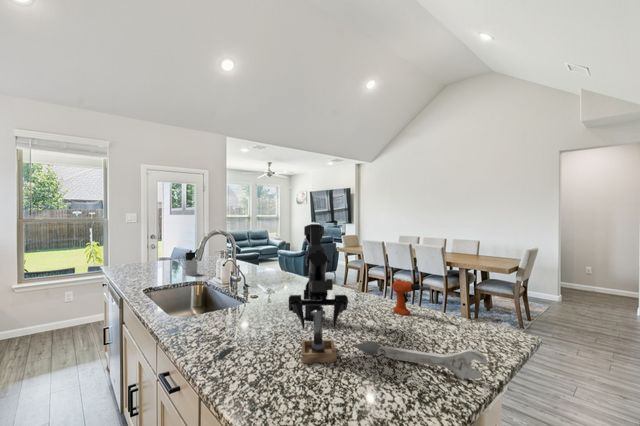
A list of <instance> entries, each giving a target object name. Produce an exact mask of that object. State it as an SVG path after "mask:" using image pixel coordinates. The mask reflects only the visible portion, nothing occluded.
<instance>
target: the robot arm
mask: <svg viewBox="0 0 640 426" xmlns="http://www.w3.org/2000/svg"><path fill="white" fill-rule="evenodd" d="M303 230H304V231H303V232H304V233H303V235H304V236H305V241H306V243H307V244H308V247H309V248H308V249H307V254H306V255H305V266H307V268H308V281H307V282H306V283H305V284H306V285H305V289H303V298H302V294H290V295H289V296H288V311H290V312H292V313H293V314H296V315H297V317H298V319H299V322H300V324H301V327H302V330H305V321H311V322H312V321H313V322H314V315H311V311H314V310H315V309H321V310H322V311H324V306H333V314H332V315H333V316H332V318H333V319H332V327H333V329H334V330H335V329H336V324H337V321H338V317H339V316H340V314H342V313H343V312H344V311H347V308H348V304H349V298H348V295H346V294H334V298H328V294H329V293H328V291H332V290H333V289H334V287H333V285H334V283H333V282H334V281H333V279H332V278H327V279H326V273H327V266H328V265H329V264H331V263H330V262H331V260H330V258H329V257H328V255H327V254H326V250H325V249H324V247H322V239H323V236H325V227H324V225H322V224H319V223H311V224H307V225H305V226H304V228H303ZM304 306H305V307H304ZM303 307H304V308H303ZM304 311H305V312H304ZM304 315H305V316H304ZM323 317H324V315H322V318H323Z"/></svg>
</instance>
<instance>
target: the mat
mask: <svg viewBox="0 0 640 426" xmlns="http://www.w3.org/2000/svg"><path fill="white" fill-rule="evenodd" d="M381 346H382V345H381V344H379V343H377V342H375V341H373V340H369V341H365V342H362V343H358V344H356V345H353V347H354V348H356V349H358V350H360V351H361V352H363V353H365V354H367V355H368V356H372V355H376V354H378V353H377V350H378V349H379V348H380V347H381ZM380 351H381V353H382V352H385V350H383V349H382V348H381V349H380Z"/></svg>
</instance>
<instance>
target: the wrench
mask: <svg viewBox="0 0 640 426" xmlns="http://www.w3.org/2000/svg"><path fill="white" fill-rule="evenodd" d="M381 348H382V349H383V350H385V351H384V352H385V355H384V357H385V358H389V359H392V360H399V361H404V362H408V363H409V362H410V363H415V364H417V363H418V364H422V365H423V364H424V365H429V366H435V367H441V368H445V369H448V370H450V371H451V372H453V373H454V374H456V375H457V378H458V379H461V380H462V381H465V379H470V380H476V379H481V378H483V377H484V373H483V372H481V371H479V370H477V369H475V368H473V367H472V366H471V362H473V361H474V360H475V361H478V362H480V363H481V364H483V365H485V366H486V365H487V364H488V363H487V362H488V359H487V357H486V356H485V355H484V354H483V353H482V352H480V351H478V350H477V349H473V348H468V349H464V350H462V351H458V352H454V353H449V354H438V353H434V352H433V353H432V352H426V351H420V350H413V349H407V348H399V347H393V346H386V345H381V347H380V348H379V349H378V350H377V353H376V354H377V355H378V356H380V355H381V354H382V352H381V351H380V349H381Z"/></svg>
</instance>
